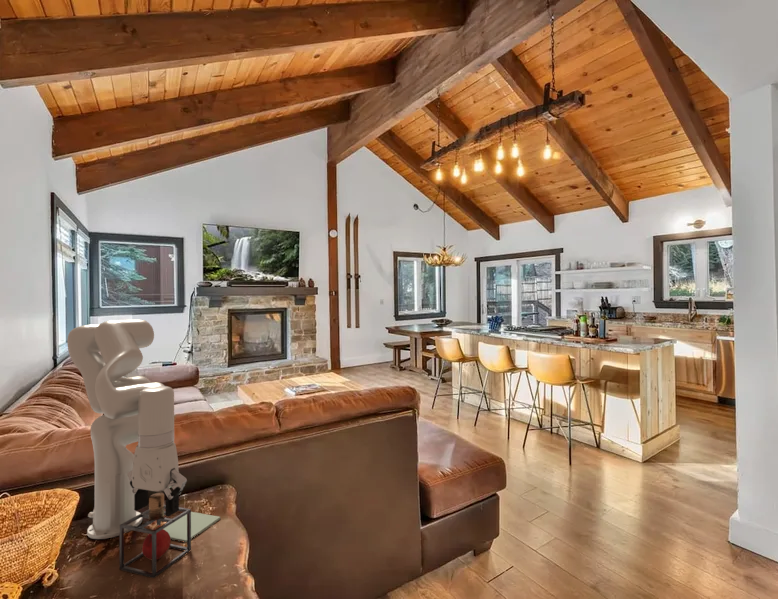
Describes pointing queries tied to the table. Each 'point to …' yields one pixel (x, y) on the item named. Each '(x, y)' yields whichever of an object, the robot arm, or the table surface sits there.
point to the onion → (161, 543)
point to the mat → (197, 526)
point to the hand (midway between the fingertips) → (156, 510)
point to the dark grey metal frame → (154, 534)
